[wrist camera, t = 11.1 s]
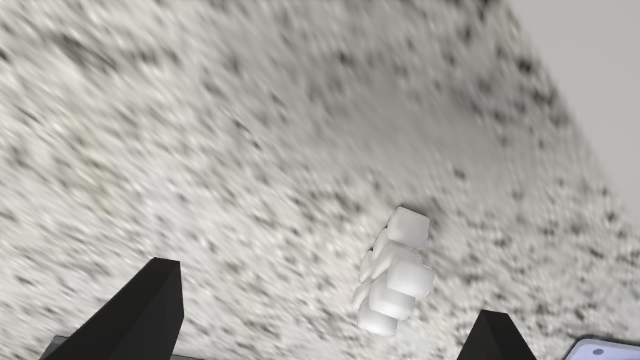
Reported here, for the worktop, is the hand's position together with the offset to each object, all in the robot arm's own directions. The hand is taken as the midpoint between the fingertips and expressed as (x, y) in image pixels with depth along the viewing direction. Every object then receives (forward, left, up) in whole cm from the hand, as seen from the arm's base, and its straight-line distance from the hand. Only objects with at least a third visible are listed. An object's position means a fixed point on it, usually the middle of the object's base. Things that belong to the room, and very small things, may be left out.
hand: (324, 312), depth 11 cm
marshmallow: (-3, +6, -10) cm, 12 cm away
